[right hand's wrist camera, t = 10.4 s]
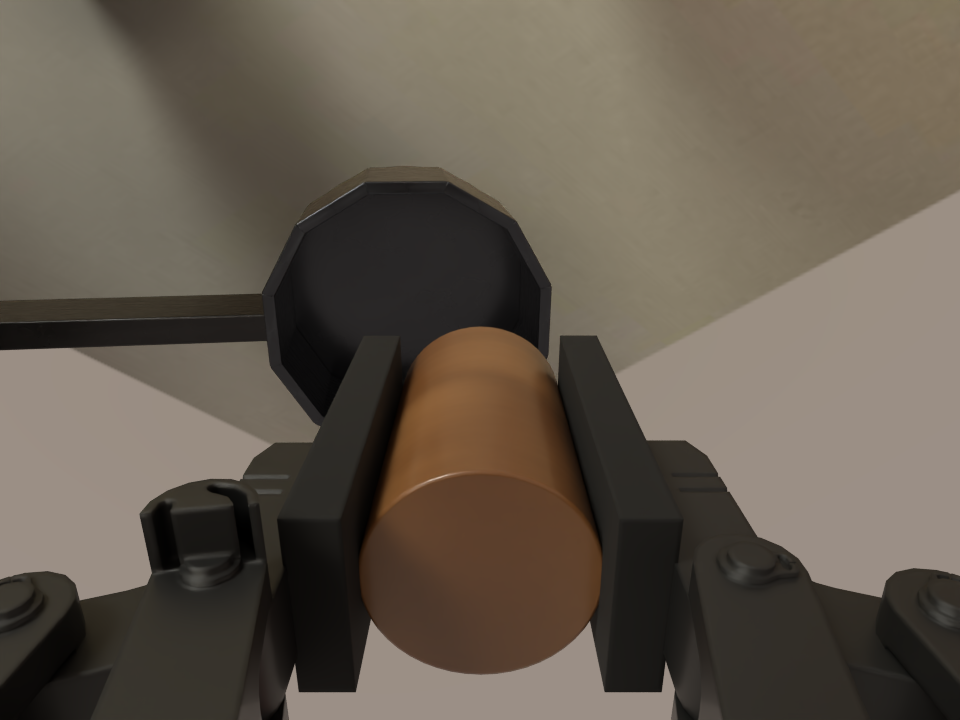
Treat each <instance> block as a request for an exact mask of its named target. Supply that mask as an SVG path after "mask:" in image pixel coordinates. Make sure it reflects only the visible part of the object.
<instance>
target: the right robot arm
mask: <svg viewBox="0 0 960 720" xmlns="http://www.w3.org/2000/svg"><path fill="white" fill-rule="evenodd" d="M558 388H559V392H560V396H561V399H562V403H563V407H564V410H565V414H566V418H567V421H568V425H569V429H570V432H571V436H572V440H573V443H574V447H575V451H576V454H577V458H578V462H579V465H580V469H581V473H582V476H583V480H584V484H585V487H586V491H587V495H588V498H589V502H590V506H591V509H592V513H593V517H594V520H595V524H596V528H597V531H598V535H599V539H600V542H601V546H602V571H601V584H600V596H599V604H598V607H597V609H596V611H595V613H594V615H593V617H592V618H591V620H590V623H591V628H592V633H593V638H594V642H595V647H596V652H597V657H598V662H599V667H600V671H601V676H602V681H603V686H604V691H605V692H662V685H663V677H664V669H665V662H666V663H667V666H668V669H669V672H670V675H671V678H672V681H673V684H674V687H675V695H674V702H673V709H672V717H671V720H960V576H958V575H955V574H949V573H948V572H943V571H938V570H929V569H916V568H913V569H908V570H903V571H899V572H895V573H894V574H893V575H892V576H891V577H890V578H889V579H888V580H887V581H886V583H885V587H884V591H883V595H882V598H880V597H875V596H871V595H866V594H861V593H856V592H851V591H847V590H842V589H837V588H833V587H829V586H826V585H822V584H819V583H815V582H813V581H812V580H811V578H810V576H809V573H808V571H807V570H806V569H805V567H804V566H803V565H802V563H801V562H800V560H799V559H798V558H797V557H795V556H794V555H793V554H791V553H790V552H788V551H787V550H786V549H784V548H783V547H781V546H779V545H777V544H774V543H772V542H769V541H767V540H765V539H762V538H759V537H757V535H756V534H755V532H754V531H753V529H752V527H751V526H750V524H749V523H748V521H747V519H746V518H745V516H744V514H743V513H742V511H741V510H740V508H739V506H738V505H737V503H736V502H735V500H734V498H733V497H732V495H731V494H730V492H727V487H726V486H725V484H724V482H723V481H722V479H721V478H720V477H718V473H717V471H716V469H715V468H714V466H713V465H712V463H711V461H710V460H709V458H708V457H707V455H705V454H704V453H702V452H701V451H699V450H698V449H697V448H695V447H694V446H692V445H691V444H689V443H688V442H687V441H646V439H645V437H644V434H643V432H642V430H641V428H640V426H639V424H638V422H637V420H636V418H635V415H634V413H633V411H632V409H631V407H630V405H629V403H628V401H627V399H626V397H625V395H624V392H623V390H622V388H621V386H620V384H619V382H618V380H617V378H616V375H615V373H614V371H613V369H612V367H611V365H610V363H609V361H608V359H607V357H606V354H605V352H604V350H603V348H602V346H601V344H600V342H599V340H598V338H597V336H560V351H559V373H558ZM402 389H403V386H402V363H401V341H400V336H363V339H362V341H361V343H360V345H359V347H358V349H357V351H356V353H355V355H354V358H353V360H352V362H351V364H350V366H349V368H348V370H347V372H346V374H345V376H344V379H343V381H342V383H341V385H340V387H339V389H338V391H337V393H336V395H335V398H334V400H333V402H332V404H331V406H330V408H329V410H328V412H327V414H326V416H325V419H324V421H323V423H322V425H321V427H320V429H319V431H318V433H317V435H316V438H315V440H314V442H313V443H274V444H273V445H272V446H270V447H269V448H267V449H266V450H265V451H263V452H262V453H260V454H259V455H257V456H256V457H255V458H254V459H253V460H252V462H251V463H250V465H249V467H248V468H247V470H246V471H245V473H244V475H243V479H241V480H240V481H236V480H232V479H208V480H202V481H197V482H191V483H187V484H184V485H182V486H179V487H176V488H173V489H171V490H168V491H166V492H165V493H163V494H161V495H160V496H158V497H157V498H155V499H153V500H152V501H150V502H149V503H148V505H147V506H146V507H145V508H144V509H143V510H142V512H141V513H140V519H141V524H142V528H143V533H144V538H145V542H146V547H147V552H148V556H149V561H150V566H151V570H152V574H151V577H150V579H149V582H148V584H147V585H145V586H142V587H138V588H135V589H131V590H128V591H123V592H118V593H114V594H109V595H104V596H99V597H95V598H90V599H85V600H79V596H78V592H77V589H76V585H75V583H74V582H73V581H71V580H70V579H69V578H68V577H67V576H66V575H63V574H58V573H54V572H49V571H45V572H32V573H23V574H19V575H14V576H12V577H7V578H4V579H1V580H0V720H289V717H288V709H287V702H286V695H285V692H286V689H287V686H288V683H289V680H290V677H291V674H292V671H293V668H294V665H295V666H296V673H297V681H298V689H299V692H356V688H357V684H358V679H359V674H360V669H361V664H362V659H363V654H364V650H365V645H366V640H367V635H368V630H369V625H370V621H371V618H370V616H369V614H368V612H367V610H366V608H365V606H364V604H363V600H362V597H361V589H360V576H359V551H360V547H361V544H362V540H363V536H364V532H365V528H366V525H367V521H368V517H369V513H370V510H371V506H372V502H373V498H374V494H375V491H376V487H377V483H378V479H379V476H380V472H381V468H382V464H383V460H384V457H385V453H386V449H387V445H388V442H389V438H390V434H391V430H392V426H393V423H394V419H395V415H396V411H397V408H398V404H399V400H400V396H401V393H402Z"/></svg>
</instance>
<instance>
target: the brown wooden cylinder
mask: <svg viewBox="0 0 960 720" xmlns="http://www.w3.org/2000/svg"><path fill="white" fill-rule="evenodd" d="M601 571H602V546H601V542H600V539H599V535H598V531H597V528H596V524H595V520H594V517H593V513H592V509H591V506H590V502H589V498H588V495H587V491H586V487H585V484H584V480H583V476H582V473H581V469H580V465H579V462H578V458H577V454H576V451H575V447H574V443H573V440H572V436H571V432H570V429H569V425H568V421H567V418H566V414H565V410H564V407H563V403H562V399H561V396H560V392H559V388H558V385H557V381H556V378H555V375H554V372H553V370H552V368H551V366H550V364H549V363H548V361H547V360H546V358H545V357H544V356H543V355H542V354H541V352H540V351H539V350H538V349H537V348H536V347H534V346H533V345H532V344H531V343H530V342H528V341H527V340H525V339H524V338H522V337H520V336H518V335H516V334H514V333H512V332H509V331H505V330H502V329H498V328H492V327H469V328H463V329H459V330H456V331H453V332H449V333H447V334H445V335H443V336H441V337H439V338H438V339H436V340H434V341H433V342H431V343H430V344H429V345H428V346H427V347H425V348H424V349H423V350H422V351H421V353H420V354H419V355H418V356H417V357H416V359H415V360H414V362H413V363H412V364H411V366H410V368H409V371H408V373H407V375H406V378H405V381H404V385H403V389H402V393H401V396H400V400H399V404H398V408H397V411H396V415H395V419H394V423H393V426H392V430H391V434H390V438H389V442H388V445H387V449H386V453H385V457H384V460H383V464H382V468H381V472H380V476H379V479H378V483H377V487H376V491H375V494H374V498H373V502H372V506H371V510H370V513H369V517H368V521H367V525H366V528H365V532H364V536H363V540H362V544H361V547H360V551H359V576H360V589H361V597H362V600H363V604H364V606H365V608H366V610H367V612H368V614H369V616H370V618H371V619H372V621H373V622H374V624H375V625H376V627H377V628H378V629H379V630H380V631H381V633H382V634H383V635H384V636H385V637H386V638H387V639H388V640H389V641H390V642H391V643H393V644H394V645H395V646H396V647H397V648H399V649H400V650H402V651H403V652H405V653H406V654H408V655H409V656H411V657H413V658H415V659H417V660H419V661H421V662H423V663H425V664H428V665H431V666H433V667H436V668H440V669H443V670H447V671H451V672H458V673H464V674H480V675H482V674H498V673H504V672H511V671H515V670H519V669H522V668H526V667H529V666H531V665H534V664H537V663H539V662H541V661H543V660H545V659H547V658H549V657H551V656H553V655H554V654H556V653H557V652H559V651H561V650H562V649H563V648H565V647H566V646H567V645H568V644H570V643H571V642H572V641H573V640H574V639H575V638H576V637H577V636H578V635H579V634H580V633H581V632H582V631H583V630H584V628H585V627H586V626H587V624H588V623H589V621H590V620H591V618H592V617H593V615H594V613H595V611H596V609H597V607H598V604H599V596H600V584H601Z"/></svg>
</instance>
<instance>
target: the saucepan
mask: <svg viewBox="0 0 960 720" xmlns="http://www.w3.org/2000/svg"><path fill="white" fill-rule="evenodd" d="M551 290H552V287H551V283H550V282H549V280H548V278H547V276H546V274H545V272H544V271H543V269H542V267H541V265H540V263H539V261H538V260H537V258H536V256H535V254H534V252H533V250H532V249H531V247H530V245H529V243H528V241H527V239H526V238H525V236H524V234H523V232H522V230H521V228H520V227H519V225H518V223H517V222H516V220H515V219H514V218H513V217H512V216H511V215H510V214H509V213H508V212H507V210H506V209H505V208H504V207H503V206H502V205H501V204H500V203H499V202H498V201H497V200H495V199H493V198H492V197H490V196H488V195H487V194H485V193H483V192H481V191H480V190H478V189H477V188H475V187H474V186H472V185H471V184H469V183H467V182H465V181H463V180H461V179H459V178H457V177H456V176H454V175H452V174H451V173H449V172H447V171H445V170H444V169H442V168H439V167H414V166H396V167H386V168H367V169H366V170H364V171H362V172H361V173H359V174H357V175H356V176H354V177H352V178H351V179H349V180H347V181H345V182H343V183H341V184H339V185H338V186H336V187H335V188H334V189H332V190H331V191H329V192H328V193H327V194H325V195H323V196H322V197H320V198H318V199H317V200H315V201H314V202H312V203H310V204H309V205H308V207H307V208H306V210H305V211H304V213H303V214H302V216H301V217H300V219H299V220H298V222H297V223H296V225H295V226H294V228H293V230H292V232H291V234H290V236H289V238H288V241H287V243H286V245H285V247H284V249H283V251H282V253H281V255H280V257H279V259H278V261H277V263H276V265H275V267H274V269H273V271H272V273H271V275H270V277H269V279H268V281H267V283H266V285H265V287H264V289H263V291H262V294H234V295H198V296H161V297H125V298H88V299H52V300H15V301H0V350H20V349H49V348H78V347H106V346H135V345H164V344H192V343H221V342H249V341H267V345H268V353H269V362H270V366H271V368H272V370H273V371H274V372H275V374H276V375H277V376H278V377H279V379H280V380H281V381H282V383H283V384H284V385H285V386H286V388H287V389H288V390H289V392H290V393H291V394H292V395H293V397H294V398H295V399H296V400H297V402H298V403H299V404H300V406H301V407H302V408H303V409H304V411H305V412H306V413H307V415H308V416H309V417H310V418H311V420H312V421H313V422H314V423H315V424H317V425H319V426H321V425H322V423H323V421H324V419H325V416H326V414H327V412H328V410H329V408H330V406H331V404H332V402H333V400H334V398H335V395H336V393H337V391H338V389H339V387H340V385H341V383H342V381H343V379H344V376H345V374H346V372H347V370H348V368H349V366H350V364H351V362H352V360H353V358H354V355H355V353H356V351H357V349H358V347H359V345H360V343H361V341H362V339H363V336H400V341H401V363H402V386H403V385H404V381H405V378H406V375H407V373H408V371H409V368H410V366H411V364H412V363H413V362H414V360H415V359H416V357H417V356H418V355H419V354H420V353H421V351H422V350H423V349H424V348H425V347H427V346H428V345H429V344H430V343H431V342H433V341H434V340H436V339H438V338H439V337H441V336H443V335H445V334H447V333H449V332H453V331H456V330H459V329H463V328H469V327H492V328H498V329H502V330H505V331H509V332H512V333H514V334H516V335H518V336H520V337H522V338H524V339H525V340H527V341H528V342H530V343H531V344H532V345H533V346H534V347H536V348H537V349H538V350H539V351H540V352H541V354H542V355H543V356H544V357H545V358H546V359H547V357H548V353H549V332H550V311H551Z"/></svg>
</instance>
